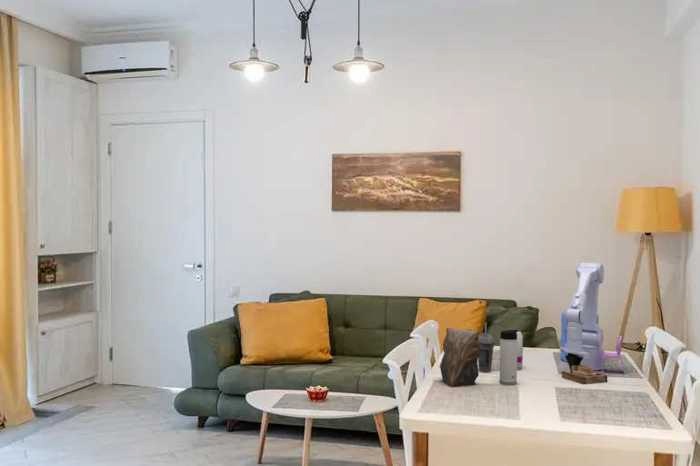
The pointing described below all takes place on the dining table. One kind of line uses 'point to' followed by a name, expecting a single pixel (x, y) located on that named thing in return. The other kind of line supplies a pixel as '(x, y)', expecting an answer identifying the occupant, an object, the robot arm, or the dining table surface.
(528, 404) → the dining table surface
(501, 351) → the travel mug
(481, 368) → the beverage cup
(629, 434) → the dining table surface
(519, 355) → the supplement can
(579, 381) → the bay
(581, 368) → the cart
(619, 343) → the toy chair
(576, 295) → the robot arm
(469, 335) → the brown rough lump
